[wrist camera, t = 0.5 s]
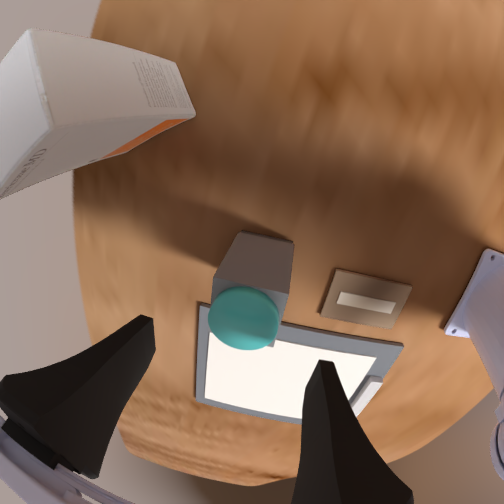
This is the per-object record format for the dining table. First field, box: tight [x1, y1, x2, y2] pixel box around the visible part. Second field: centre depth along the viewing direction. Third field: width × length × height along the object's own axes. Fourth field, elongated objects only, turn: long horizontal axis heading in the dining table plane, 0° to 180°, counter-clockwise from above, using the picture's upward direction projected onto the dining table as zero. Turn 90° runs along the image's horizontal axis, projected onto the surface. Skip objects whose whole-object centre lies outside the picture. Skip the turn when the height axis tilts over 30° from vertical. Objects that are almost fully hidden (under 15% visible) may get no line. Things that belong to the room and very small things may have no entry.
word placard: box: [320, 268, 413, 329], centre depth 19 cm, size 6×4×1 cm, turn 81°
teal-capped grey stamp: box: [208, 230, 294, 350], centre depth 17 cm, size 4×4×7 cm
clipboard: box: [196, 303, 404, 424], centre depth 24 cm, size 17×14×1 cm
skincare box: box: [0, 28, 196, 199], centre depth 11 cm, size 6×4×12 cm
